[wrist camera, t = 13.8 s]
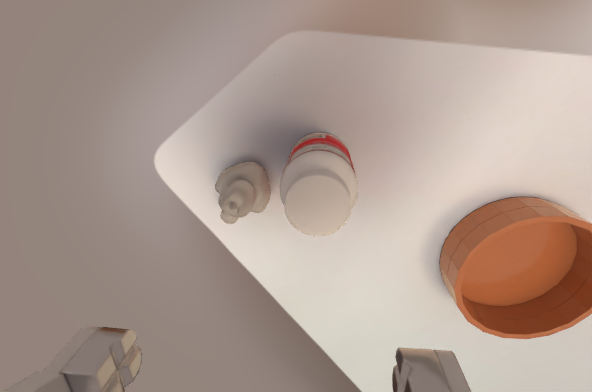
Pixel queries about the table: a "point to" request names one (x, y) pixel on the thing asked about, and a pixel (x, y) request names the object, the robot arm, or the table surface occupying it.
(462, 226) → the terracotta dish
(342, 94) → the table surface
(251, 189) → the grey rounded lumpy piece
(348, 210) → the pill bottle
